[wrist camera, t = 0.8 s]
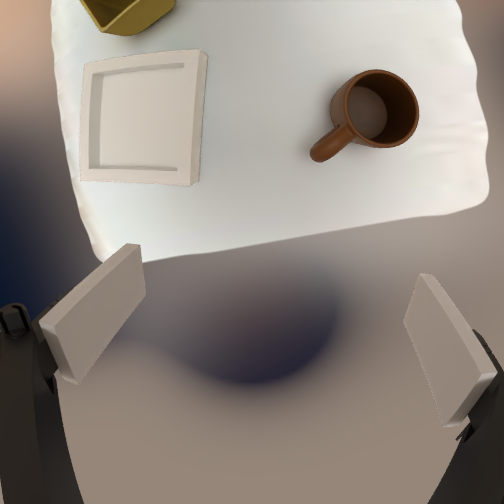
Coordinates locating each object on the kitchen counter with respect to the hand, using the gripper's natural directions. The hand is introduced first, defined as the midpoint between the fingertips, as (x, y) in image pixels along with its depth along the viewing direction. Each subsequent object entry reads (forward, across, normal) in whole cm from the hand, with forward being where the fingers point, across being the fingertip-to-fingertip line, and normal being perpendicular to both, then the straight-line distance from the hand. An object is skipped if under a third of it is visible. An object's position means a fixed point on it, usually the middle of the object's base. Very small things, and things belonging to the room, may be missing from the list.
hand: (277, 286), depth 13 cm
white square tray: (+24, -19, +8) cm, 32 cm away
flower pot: (+25, -19, +24) cm, 39 cm away
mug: (+25, +6, +8) cm, 27 cm away
